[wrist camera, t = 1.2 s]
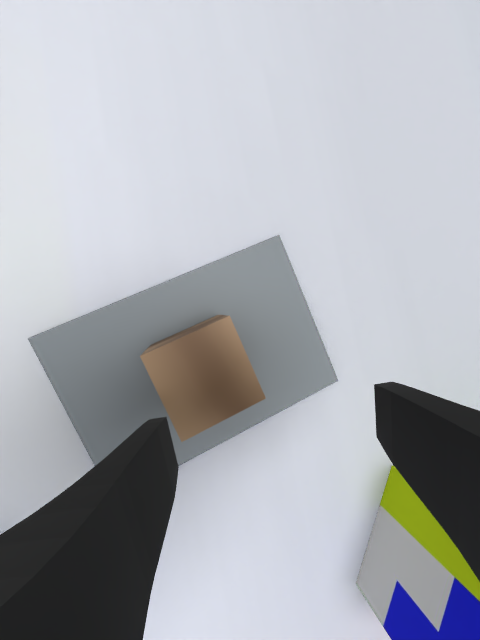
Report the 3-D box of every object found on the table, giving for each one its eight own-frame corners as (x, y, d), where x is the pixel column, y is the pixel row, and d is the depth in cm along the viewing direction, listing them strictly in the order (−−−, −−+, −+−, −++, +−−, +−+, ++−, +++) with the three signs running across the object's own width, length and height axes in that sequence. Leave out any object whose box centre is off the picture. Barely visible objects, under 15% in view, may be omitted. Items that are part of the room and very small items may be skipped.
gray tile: (114, 497, 19) (113, 501, 19) (30, 338, 18) (27, 338, 18) (336, 379, 22) (338, 380, 22) (277, 236, 21) (279, 234, 21)
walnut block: (181, 409, 20) (181, 442, 15) (150, 344, 19) (139, 355, 14) (245, 377, 21) (265, 398, 16) (217, 314, 20) (229, 315, 15)
